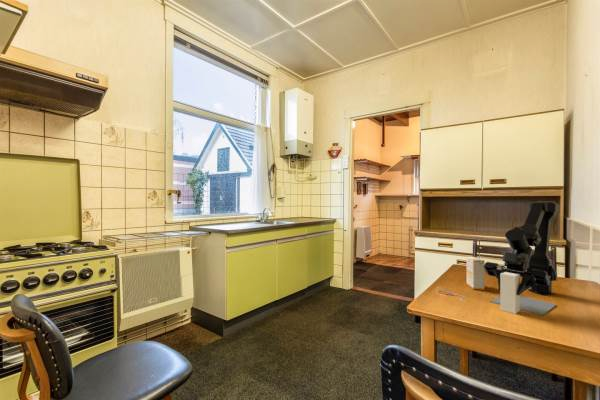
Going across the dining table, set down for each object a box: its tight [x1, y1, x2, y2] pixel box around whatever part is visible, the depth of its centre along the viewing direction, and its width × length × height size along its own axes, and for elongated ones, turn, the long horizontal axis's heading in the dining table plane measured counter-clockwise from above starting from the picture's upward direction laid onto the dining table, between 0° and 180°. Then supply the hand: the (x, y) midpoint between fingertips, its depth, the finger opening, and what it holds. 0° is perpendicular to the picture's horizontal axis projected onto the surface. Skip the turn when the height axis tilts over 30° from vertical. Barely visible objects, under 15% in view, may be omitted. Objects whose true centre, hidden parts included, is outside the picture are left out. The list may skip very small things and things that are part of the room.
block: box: [499, 272, 521, 315], centre depth 101 cm, size 4×4×13 cm
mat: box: [489, 295, 557, 316], centre depth 108 cm, size 16×16×1 cm
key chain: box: [437, 290, 467, 303], centre depth 117 cm, size 13×7×1 cm, turn 37°
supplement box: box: [466, 256, 486, 291], centre depth 128 cm, size 8×5×13 cm, turn 168°
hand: (508, 292), depth 101 cm, fingers open, 5 cm apart
